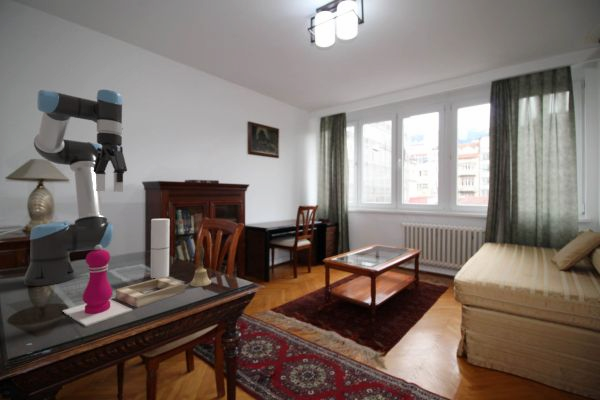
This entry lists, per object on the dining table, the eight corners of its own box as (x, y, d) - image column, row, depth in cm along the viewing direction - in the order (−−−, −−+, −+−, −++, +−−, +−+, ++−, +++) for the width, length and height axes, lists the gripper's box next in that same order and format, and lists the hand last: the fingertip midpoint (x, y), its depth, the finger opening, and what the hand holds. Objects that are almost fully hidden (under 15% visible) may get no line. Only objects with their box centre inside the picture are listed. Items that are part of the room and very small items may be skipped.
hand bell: (187, 287, 104) (188, 246, 104) (191, 280, 113) (192, 242, 112) (210, 286, 106) (210, 246, 106) (212, 279, 114) (213, 242, 114)
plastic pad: (62, 312, 81) (62, 310, 81) (107, 299, 91) (107, 297, 91) (85, 326, 73) (85, 324, 73) (132, 310, 83) (132, 309, 83)
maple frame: (115, 297, 92) (115, 289, 92) (162, 284, 107) (162, 276, 107) (137, 307, 85) (137, 298, 85) (184, 291, 100) (184, 283, 100)
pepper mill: (96, 316, 78) (97, 247, 77) (76, 313, 79) (76, 246, 79) (117, 306, 85) (118, 243, 84) (99, 303, 86) (99, 242, 86)
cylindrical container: (150, 279, 113) (150, 220, 112) (150, 274, 119) (151, 218, 118) (169, 277, 116) (169, 219, 115) (168, 272, 122) (169, 218, 122)
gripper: (138, 132, 96) (137, 192, 96) (105, 138, 109) (104, 191, 109) (115, 128, 89) (114, 191, 90) (82, 135, 102) (82, 190, 103)
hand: (109, 191), depth 99 cm, fingers open, 13 cm apart
